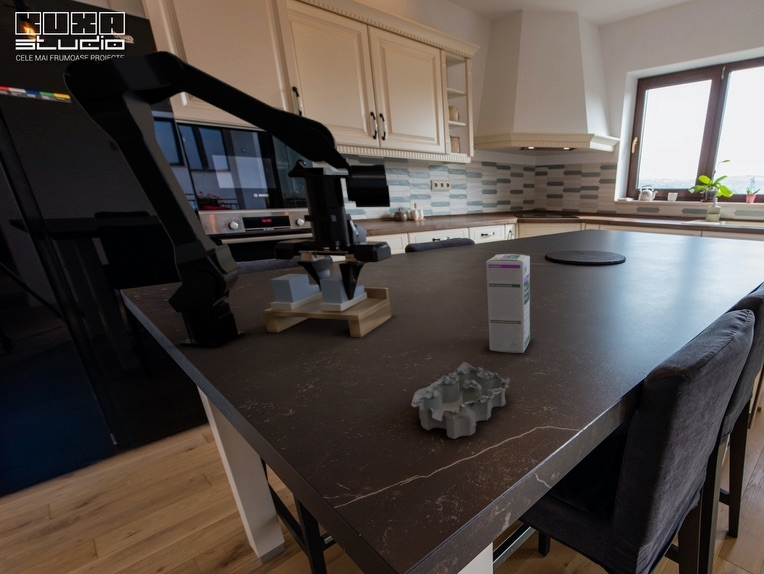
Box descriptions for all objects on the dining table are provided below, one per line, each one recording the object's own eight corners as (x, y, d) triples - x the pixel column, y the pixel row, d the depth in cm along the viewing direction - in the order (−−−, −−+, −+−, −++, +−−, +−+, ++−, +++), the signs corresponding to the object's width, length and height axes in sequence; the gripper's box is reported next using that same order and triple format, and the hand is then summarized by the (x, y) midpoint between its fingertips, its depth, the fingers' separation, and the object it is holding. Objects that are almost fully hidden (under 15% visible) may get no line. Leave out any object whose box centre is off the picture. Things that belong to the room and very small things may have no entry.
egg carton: (462, 446, 39) (459, 410, 38) (406, 424, 43) (403, 391, 41) (516, 399, 48) (516, 369, 46) (466, 385, 51) (464, 356, 50)
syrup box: (524, 354, 61) (525, 260, 56) (487, 351, 62) (485, 258, 57) (530, 341, 67) (531, 254, 61) (496, 338, 68) (494, 253, 62)
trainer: (341, 311, 68) (336, 281, 66) (320, 310, 69) (314, 280, 67) (367, 298, 77) (363, 271, 75) (348, 297, 77) (344, 270, 75)
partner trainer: (291, 310, 69) (285, 281, 68) (271, 309, 70) (264, 280, 68) (323, 297, 78) (318, 271, 76) (304, 296, 78) (299, 270, 77)
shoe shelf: (267, 332, 71) (260, 299, 69) (309, 312, 82) (304, 284, 80) (361, 337, 68) (356, 303, 66) (391, 316, 79) (388, 287, 77)
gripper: (399, 206, 72) (407, 290, 77) (306, 205, 74) (320, 287, 80) (370, 209, 61) (381, 306, 67) (262, 208, 64) (282, 301, 70)
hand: (340, 299), depth 71 cm, fingers closed on trainer, 3 cm apart
